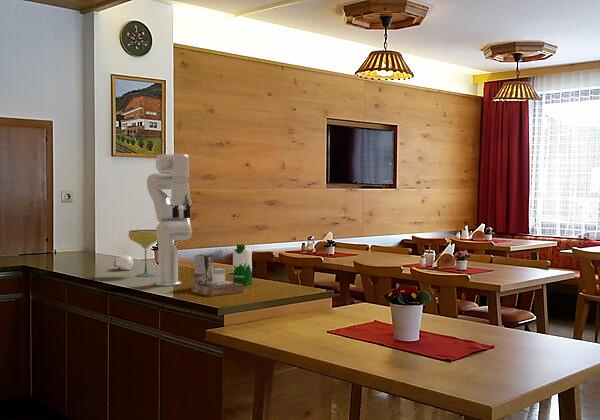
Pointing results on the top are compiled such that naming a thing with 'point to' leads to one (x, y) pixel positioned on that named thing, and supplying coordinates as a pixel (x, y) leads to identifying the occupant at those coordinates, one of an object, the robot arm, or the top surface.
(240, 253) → the milk carton
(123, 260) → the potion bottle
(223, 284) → the block
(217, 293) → the walled box
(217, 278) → the plug
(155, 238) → the cocktail glass
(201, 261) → the coffee box
